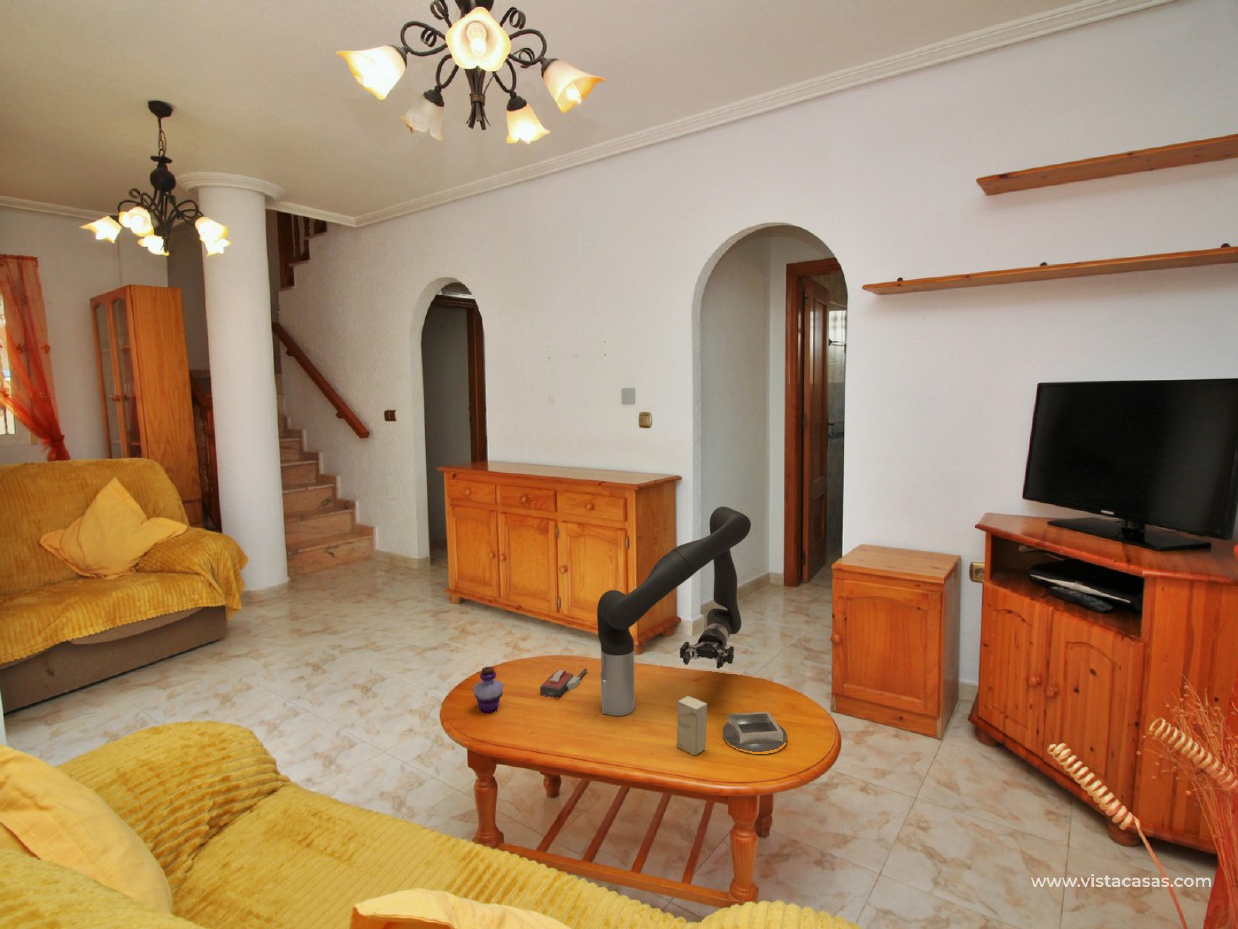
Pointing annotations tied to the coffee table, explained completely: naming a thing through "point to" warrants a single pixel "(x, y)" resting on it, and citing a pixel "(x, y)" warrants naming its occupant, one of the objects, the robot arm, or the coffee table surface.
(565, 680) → the walkie-talkie
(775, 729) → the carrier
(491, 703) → the potion bottle
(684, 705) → the skincare box
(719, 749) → the coffee table surface
